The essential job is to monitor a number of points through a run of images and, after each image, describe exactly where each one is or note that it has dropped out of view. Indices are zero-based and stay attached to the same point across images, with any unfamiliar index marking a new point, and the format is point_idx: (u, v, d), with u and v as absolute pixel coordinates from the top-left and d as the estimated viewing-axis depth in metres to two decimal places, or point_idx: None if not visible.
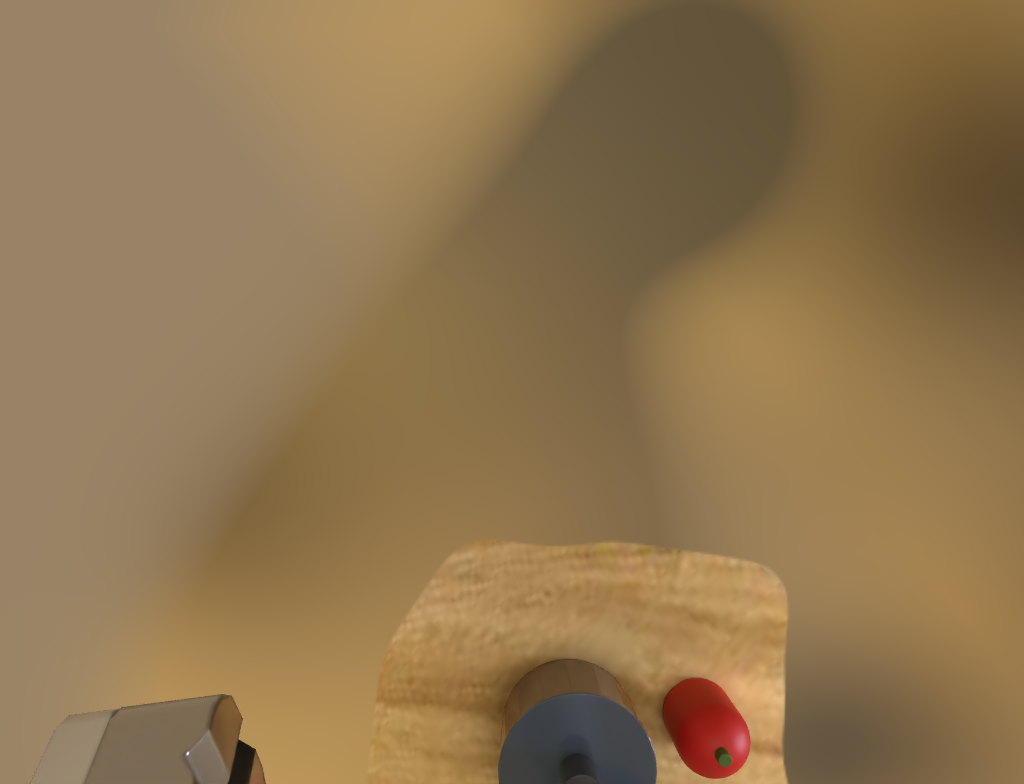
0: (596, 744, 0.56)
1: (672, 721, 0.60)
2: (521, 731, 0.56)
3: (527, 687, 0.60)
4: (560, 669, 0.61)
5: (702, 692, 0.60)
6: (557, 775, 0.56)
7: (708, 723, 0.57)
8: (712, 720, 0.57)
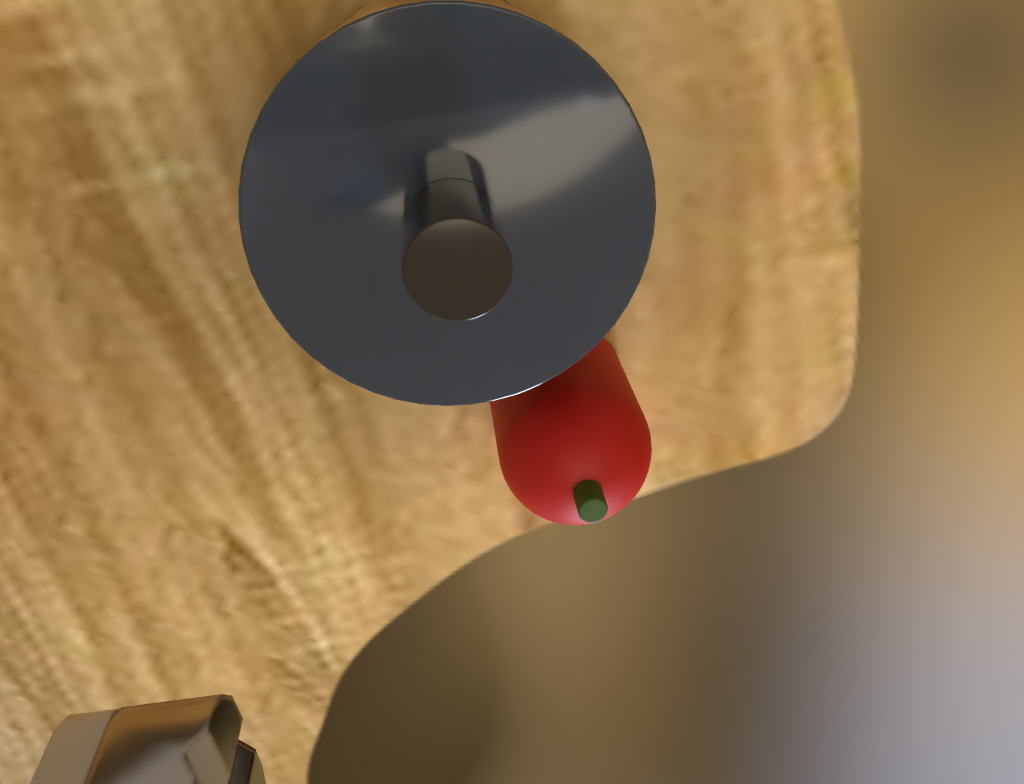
0: (535, 246, 0.22)
1: None
2: (506, 40, 0.19)
3: None
4: None
5: (632, 390, 0.30)
6: (424, 180, 0.21)
7: (629, 442, 0.26)
8: (636, 446, 0.27)
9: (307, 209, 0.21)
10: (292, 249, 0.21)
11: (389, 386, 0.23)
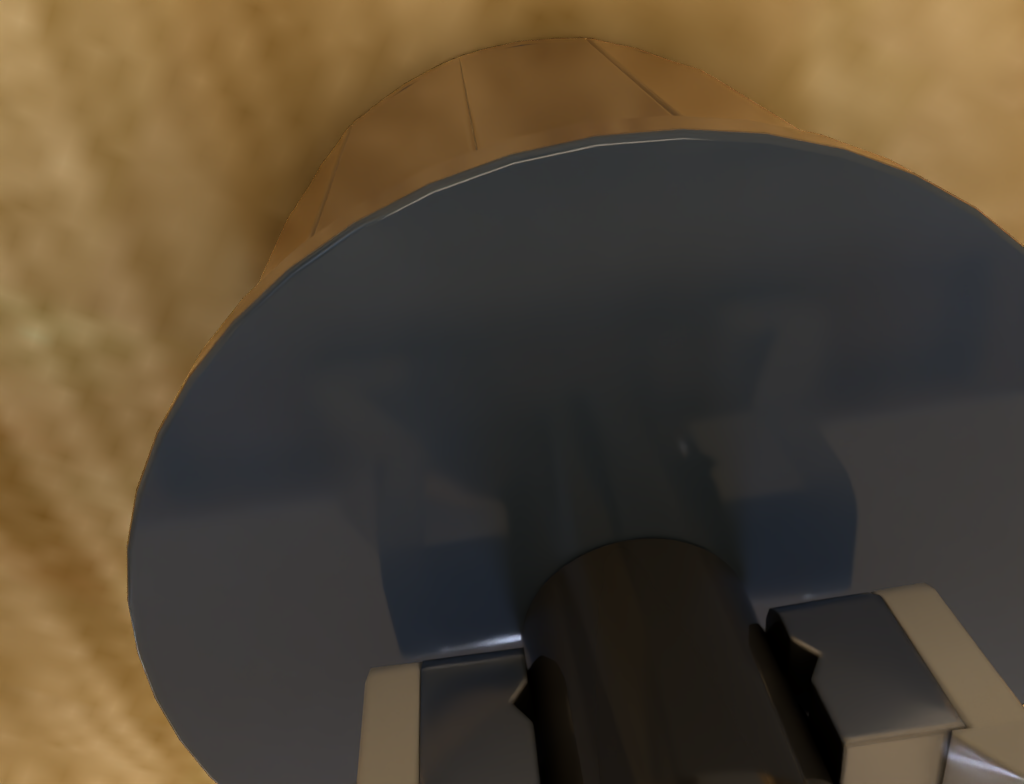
0: None
1: None
2: (864, 242, 0.07)
3: None
4: None
5: None
6: (588, 540, 0.08)
7: None
8: None
9: (297, 589, 0.08)
10: (256, 662, 0.09)
11: None
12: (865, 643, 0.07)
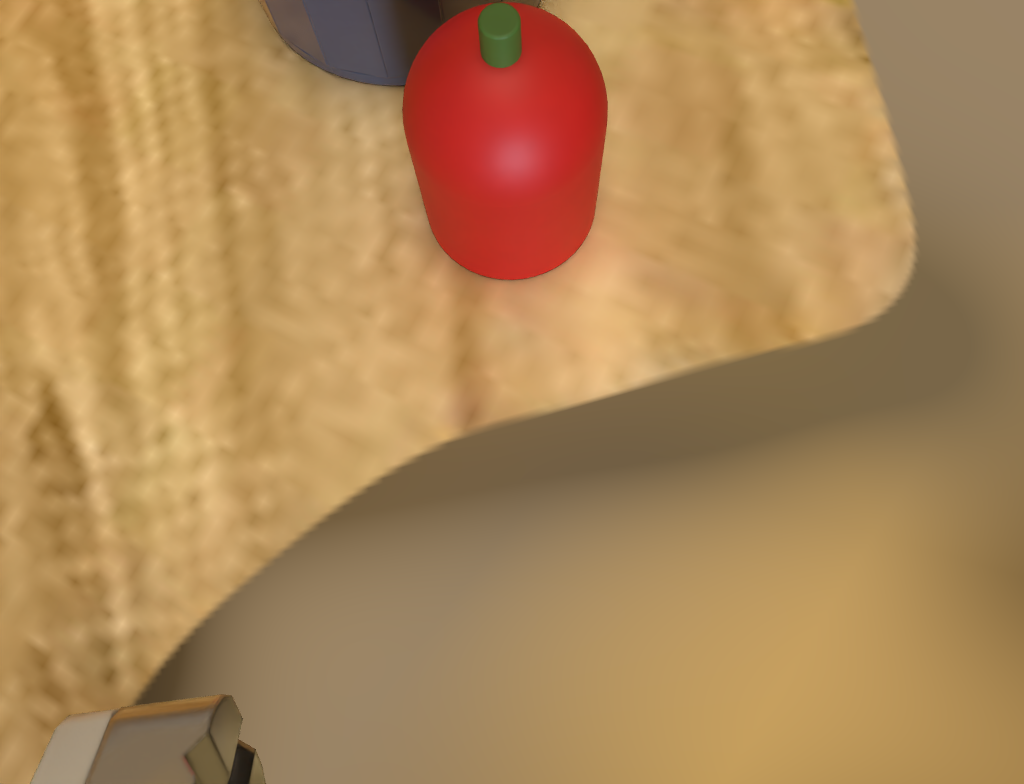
0: None
1: None
2: None
3: None
4: None
5: None
6: None
7: (565, 27, 0.20)
8: (575, 38, 0.20)
9: None
10: None
11: None
12: None
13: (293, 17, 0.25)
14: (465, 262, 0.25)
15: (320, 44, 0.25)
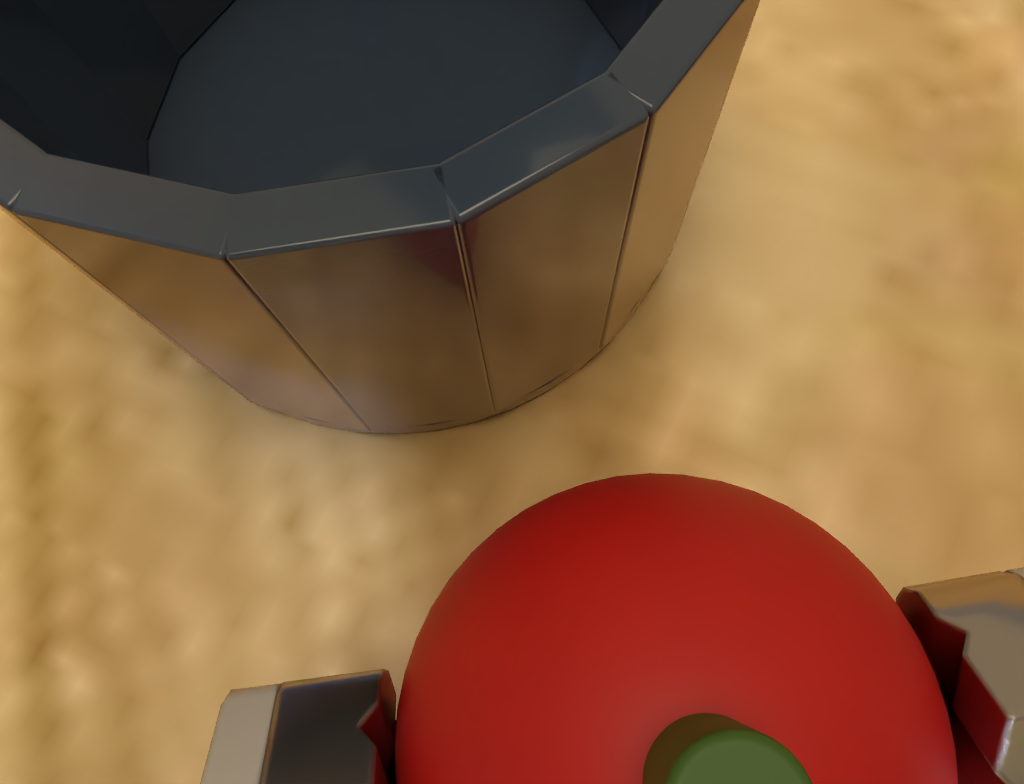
0: None
1: None
2: None
3: None
4: None
5: None
6: None
7: (868, 613, 0.07)
8: (897, 643, 0.07)
9: None
10: None
11: None
12: (1011, 620, 0.07)
13: (172, 342, 0.12)
14: None
15: (233, 385, 0.12)
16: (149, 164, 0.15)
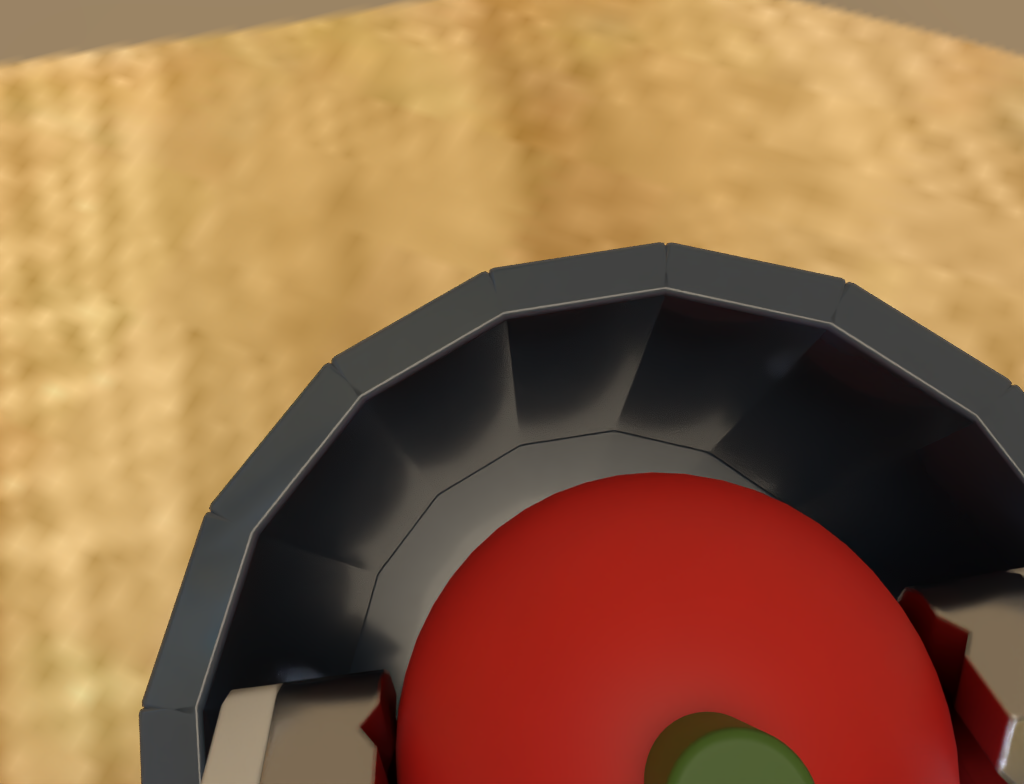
0: None
1: None
2: None
3: None
4: None
5: None
6: None
7: (869, 612, 0.07)
8: (899, 642, 0.07)
9: None
10: None
11: None
12: (1014, 620, 0.07)
13: None
14: None
15: None
16: None
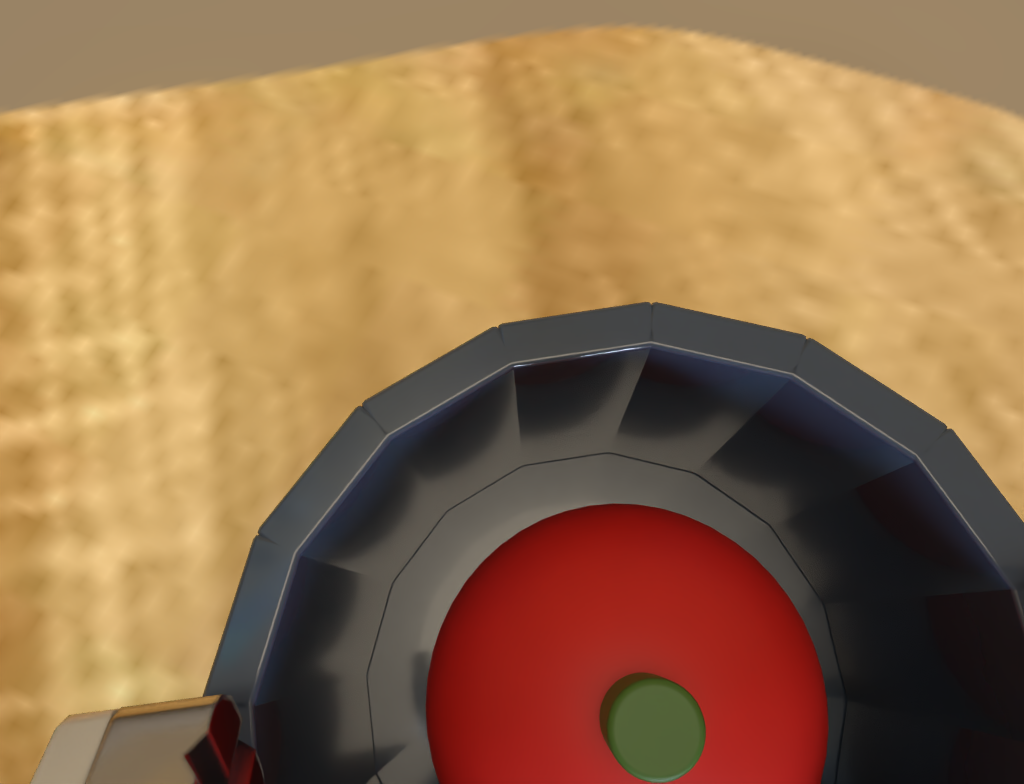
0: None
1: None
2: None
3: None
4: None
5: None
6: None
7: (760, 606, 0.10)
8: (781, 626, 0.10)
9: None
10: None
11: None
12: None
13: None
14: None
15: None
16: (370, 700, 0.16)
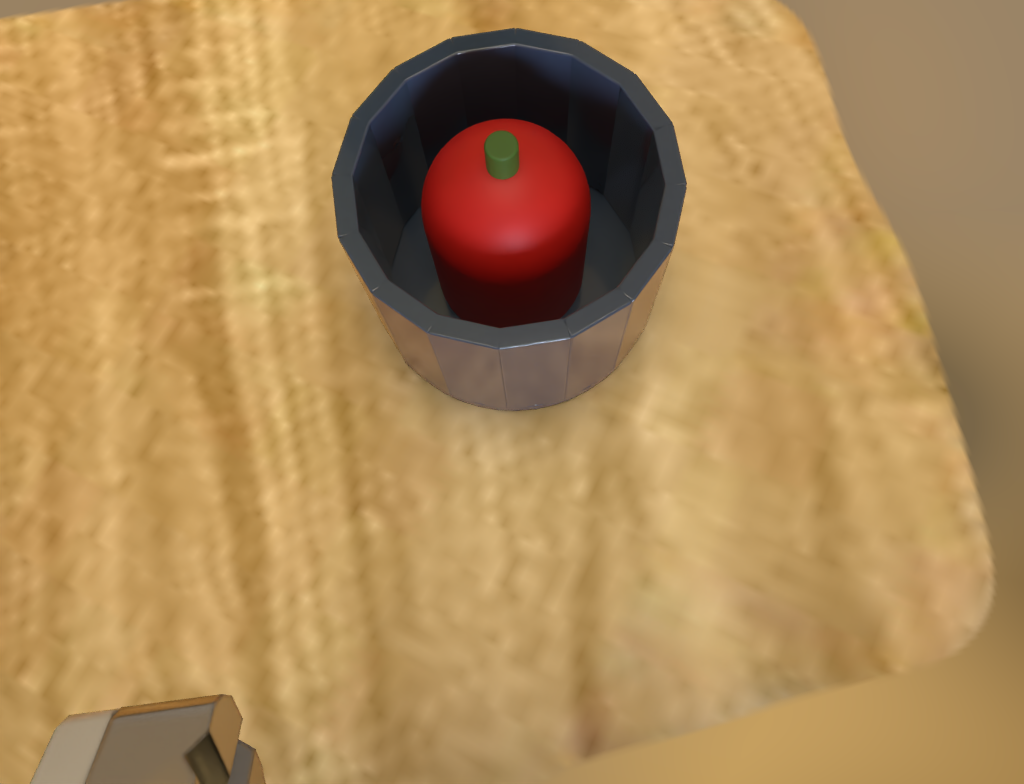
0: None
1: None
2: None
3: None
4: None
5: None
6: None
7: (555, 141, 0.24)
8: (563, 150, 0.24)
9: None
10: None
11: None
12: None
13: (426, 369, 0.27)
14: None
15: (449, 388, 0.28)
16: (393, 280, 0.30)
